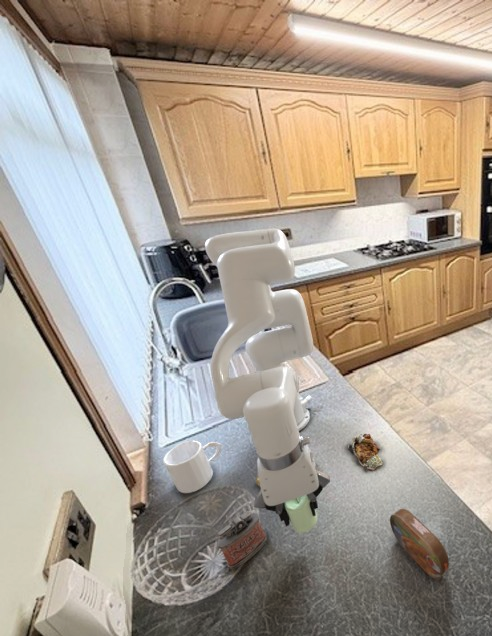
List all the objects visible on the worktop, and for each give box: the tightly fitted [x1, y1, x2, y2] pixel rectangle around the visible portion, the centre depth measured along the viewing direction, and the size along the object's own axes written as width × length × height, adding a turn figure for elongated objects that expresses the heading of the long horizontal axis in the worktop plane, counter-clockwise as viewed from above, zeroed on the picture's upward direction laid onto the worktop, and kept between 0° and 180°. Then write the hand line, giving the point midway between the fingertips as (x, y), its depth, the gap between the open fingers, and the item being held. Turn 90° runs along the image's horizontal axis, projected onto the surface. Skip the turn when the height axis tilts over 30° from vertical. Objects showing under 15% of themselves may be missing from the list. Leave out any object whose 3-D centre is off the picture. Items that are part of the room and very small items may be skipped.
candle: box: [285, 495, 319, 534], centre depth 71 cm, size 5×5×8 cm
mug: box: [162, 440, 222, 494], centre depth 89 cm, size 8×12×10 cm
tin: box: [389, 508, 450, 580], centre depth 70 cm, size 15×3×8 cm, turn 45°
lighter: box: [216, 510, 268, 570], centre depth 71 cm, size 8×3×10 cm, turn 141°
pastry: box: [347, 433, 384, 471], centre depth 95 cm, size 7×12×4 cm, turn 39°
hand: (300, 514), depth 72 cm, fingers closed on candle, 4 cm apart
